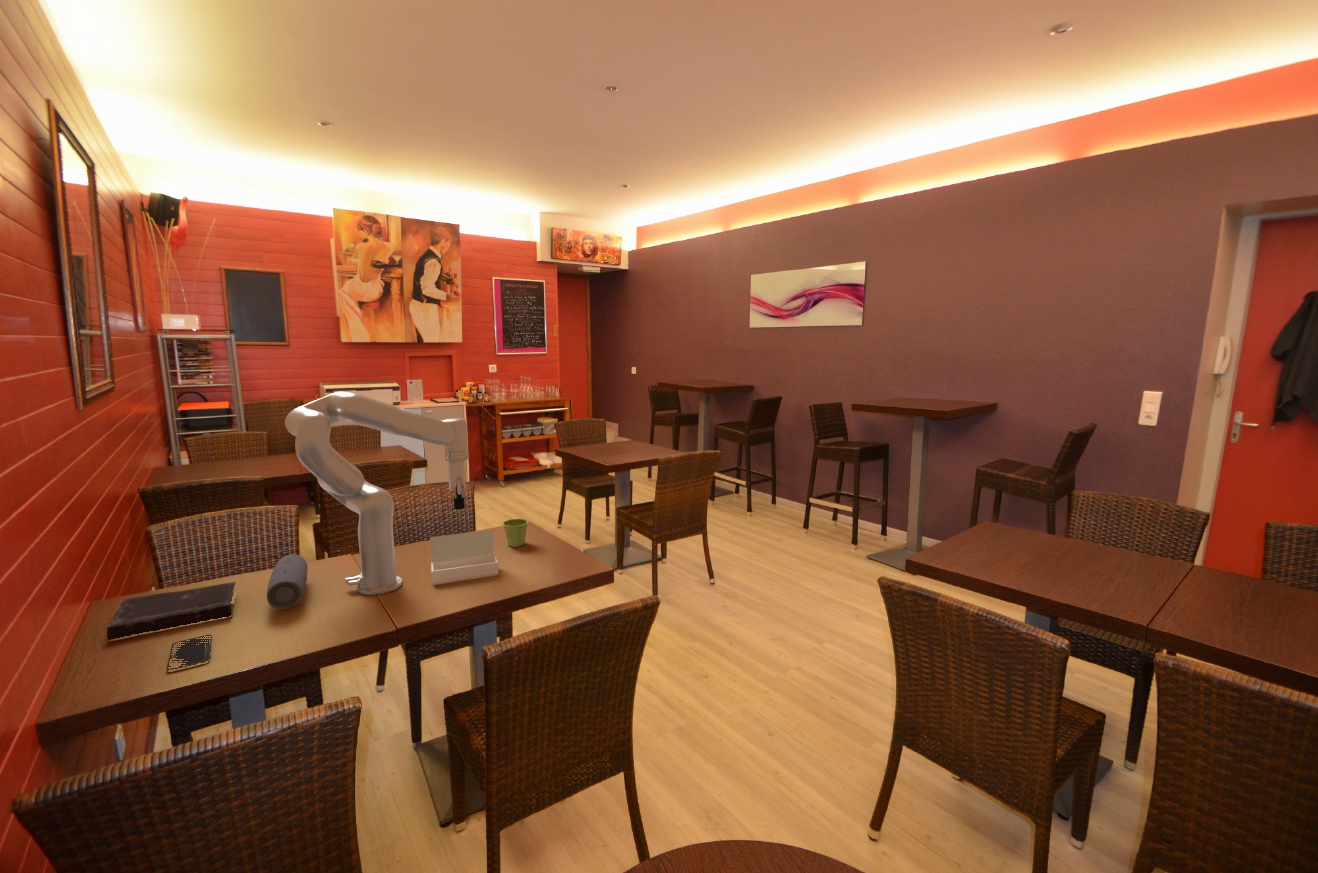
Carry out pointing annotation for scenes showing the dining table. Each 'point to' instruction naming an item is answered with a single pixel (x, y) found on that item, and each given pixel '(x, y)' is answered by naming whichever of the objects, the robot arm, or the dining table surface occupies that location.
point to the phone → (191, 652)
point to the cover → (461, 545)
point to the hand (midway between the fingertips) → (459, 508)
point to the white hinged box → (464, 569)
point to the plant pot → (515, 531)
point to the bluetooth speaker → (287, 582)
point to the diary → (170, 610)
